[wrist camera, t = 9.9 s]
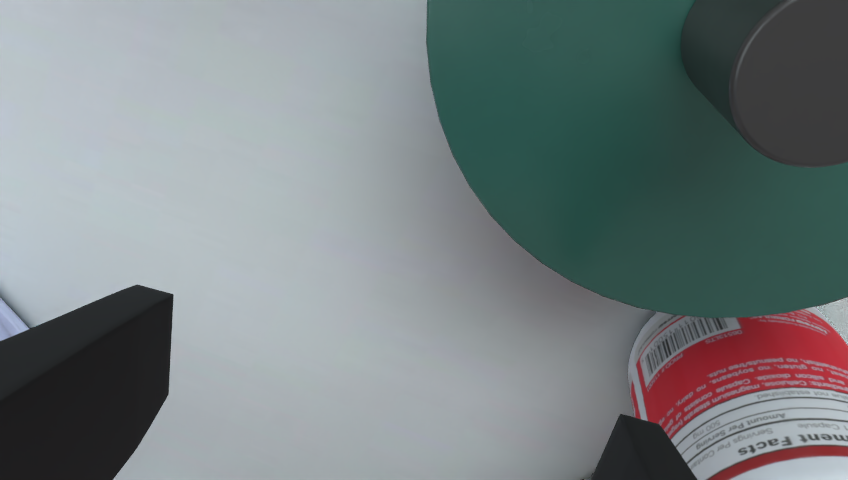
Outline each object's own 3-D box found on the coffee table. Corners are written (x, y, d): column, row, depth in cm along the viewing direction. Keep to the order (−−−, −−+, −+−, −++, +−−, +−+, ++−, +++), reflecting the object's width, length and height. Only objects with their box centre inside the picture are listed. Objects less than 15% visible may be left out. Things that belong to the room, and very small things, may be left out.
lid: (596, 365, 16) (615, 517, 12) (321, -75, 13) (221, -72, 9) (1173, 134, 12) (1492, 243, 8) (990, -586, 9) (1367, -1009, 5)
